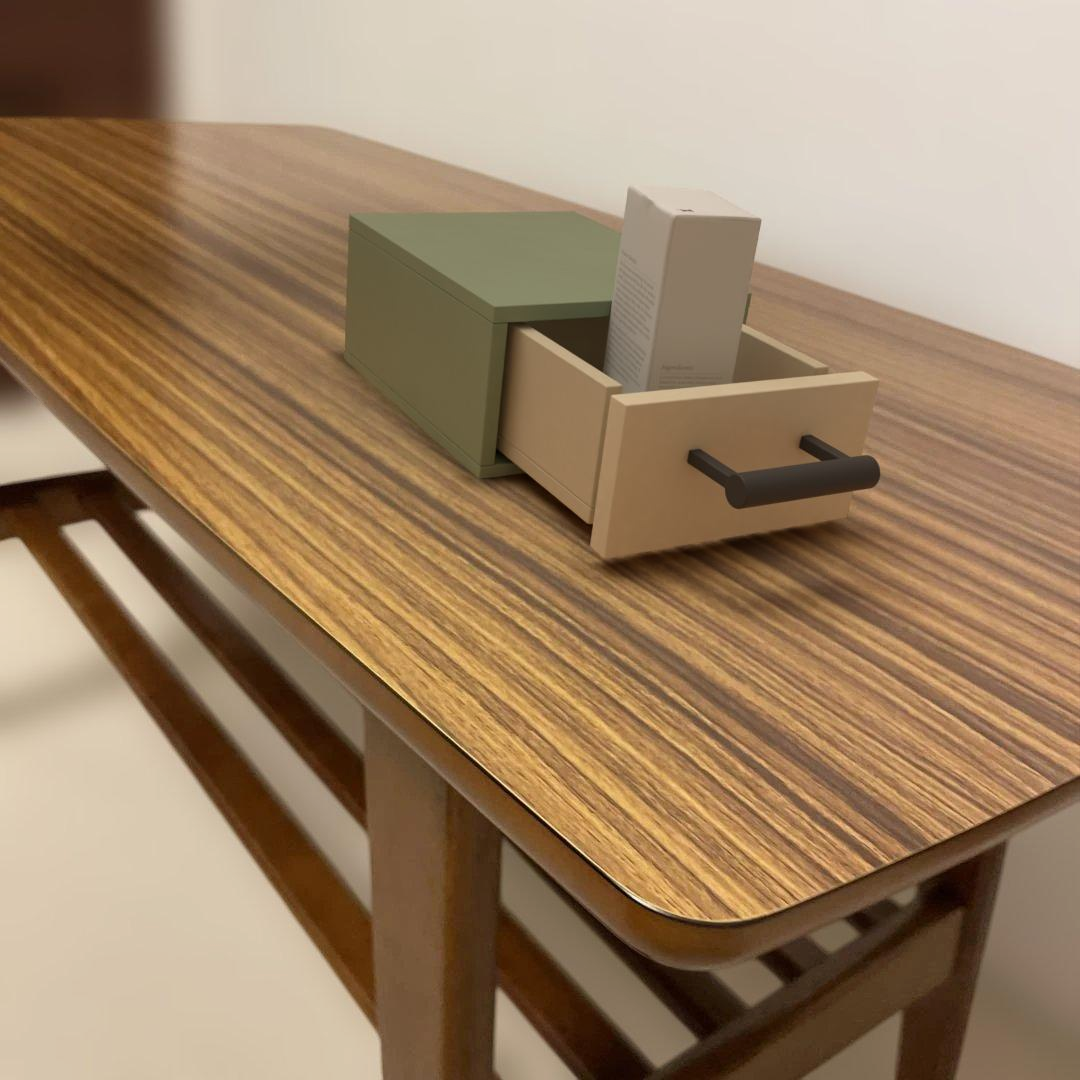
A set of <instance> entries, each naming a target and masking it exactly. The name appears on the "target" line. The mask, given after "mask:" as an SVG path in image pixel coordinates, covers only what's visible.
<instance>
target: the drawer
mask: <svg viewBox="0 0 1080 1080" xmlns="http://www.w3.org/2000/svg"><path fill="white" fill-rule="evenodd" d="M609 321H610V317H593V318H576V319H559V320H542V321H525V322H509V323H508V328H507V338H506V349H505V359H504V369H503V380H502V390H501V401H500V411H499V421H498V432H497V442H496V448H497V449H498V450H499V451H500V452H502V453H503V454H504V455H505V456H506V457H508V458H509V459H510V460H511V461H512V462H514V463H515V464H516V465H517V466H518V467H520V468H521V469H522V470H523V471H525V472H526V473H525V474H526V475H528V476H529V477H530V478H532V479H533V480H534V481H535V482H536V483H537V484H539V485H540V486H541V487H542V488H544V489H545V490H546V491H547V492H548V493H550V494H551V495H552V496H553V497H555V498H556V499H557V500H558V501H559V502H561V503H562V504H563V505H564V506H566V507H567V508H568V509H569V510H570V511H571V512H572V513H574V514H575V515H576V516H578V517H579V518H580V519H581V520H582V521H584V522H585V524H588V525H592V529H591V535H590V536H591V537H590V544H589V547H590V548H591V549H592V550H593V551H594V552H596V553H597V555H599V556H600V557H601V558H602V559H604V560H607V559H614V558H619V557H623V556H624V557H626V556H631V555H636V554H643V553H649V552H653V551H654V552H655V551H660V550H666V549H672V548H677V547H682V546H683V547H684V546H688V545H695V544H701V543H706V542H713V541H717V540H723V539H730V538H737V537H742V536H748V535H753V534H759V533H765V532H772V531H778V530H783V529H789V528H795V527H799V526H800V527H801V526H805V525H813V524H817V523H824V522H831V521H835V520H842V519H847V517H848V514H849V510H850V506H851V502H852V499H853V498H852V497H853V493H854V492H857V491H864V490H870V489H873V488H875V487H876V486H877V485H878V484H879V481H880V480H881V479H880V478H881V467H880V465H879V462H878V460H877V459H875V457H873V456H872V455H869V454H863V453H864V449H865V448H864V447H865V443H866V440H867V436H868V431H869V427H870V424H871V423H870V422H871V419H872V415H873V410H874V407H875V402H876V398H877V394H878V389H879V385H880V378H878V377H876V376H873V375H871V374H869V373H867V372H865V371H863V370H860V371H847V372H838V373H829V369H830V367H829V365H827V364H825V363H822V362H821V361H819V360H817V359H815V358H813V357H810V356H809V355H807V354H805V353H803V352H800V351H799V350H797V349H794V348H792V347H791V346H788V345H786V344H785V343H784V342H781V341H779V340H777V339H774V338H772V337H770V336H768V335H766V334H765V333H763V332H761V331H758V330H756V329H754V328H752V327H750V326H748V325H744V324H742V329H741V335H740V340H739V346H738V352H737V357H736V363H735V368H734V373H733V378H732V384H722V385H712V386H701V387H691V388H681V389H670V390H660V391H649V392H639V393H628V394H622V387H623V386H622V385H621V384H620V383H618V382H617V381H615V380H613V379H612V378H610V377H609V376H607V375H606V374H604V373H602V372H603V365H604V357H605V350H606V343H607V335H608V328H609ZM828 373H829V374H828Z"/></svg>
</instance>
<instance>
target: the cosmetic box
mask: <svg viewBox="0 0 1080 1080" xmlns="http://www.w3.org/2000/svg"><path fill="white" fill-rule="evenodd" d="M761 226H762V218H761V217H760V216H758V215H755V214H753V213H751V212H749V211H747V210H745V209H743V208H741V207H739V206H738V205H736V204H734V203H732V202H731V201H729V200H728V199H726V198H724V197H722V196H721V195H718V194H717V193H714V192H713V191H711V190H710V189H709V190H708V189H699V188H683V187H669V186H667V187H665V186H655V185H654V186H652V185H640V184H631V185H629V186H628V187H627V192H626V200H625V207H624V215H623V222H622V228H621V233H622V234H621V242H620V248H619V256H618V263H617V270H616V278H615V285H614V292H613V299H612V305H611V313H610V321H609V328H608V335H607V343H606V350H605V357H604V365H603V372H602V373H604V374H606V375H607V376H609V377H610V378H612V379H613V380H615V381H617V382H618V383H620V384H621V385H622V386H623V387H622V394H628V393H639V392H649V391H660V390H670V389H681V388H691V387H701V386H712V385H722V384H732V378H733V373H734V368H735V363H736V357H737V352H738V346H739V340H740V335H741V329H742V324H743V319H744V314H745V308H746V302H747V297H748V292H750V291H749V290H750V285H751V279H752V275H753V270H754V263H755V258H756V251H757V248H758V243H759V237H760V236H759V235H760V230H761Z"/></svg>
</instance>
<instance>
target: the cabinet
mask: <svg viewBox="0 0 1080 1080" xmlns="http://www.w3.org/2000/svg"><path fill="white" fill-rule="evenodd" d="M621 234H622V232H620V231H618V230H616V229H613V228H611V227H609V226H608V225H604V224H603V223H600V222H598V221H596V220H594V219H592V218H590V217H587V216H585V215H583V214H581V213H579V212H576V211H573V210H567V211H565V210H564V211H563V210H561V211H557V210H556V211H483V212H482V211H479V212H478V211H476V212H475V211H474V212H473V211H472V212H470V211H469V212H466V211H465V212H389V213H387V212H384V213H383V212H381V213H379V212H378V213H376V212H375V213H373V212H372V213H349V214H348V241H347V242H348V243H347V244H348V245H347V267H346V268H347V271H346V295H345V296H346V299H345V301H346V302H345V323H344V324H345V325H344V356H343V358H344V359H343V360H344V361H345V362H346V363H348V364H349V365H350V366H351V367H352V368H353V369H355V370H356V372H358V373H359V374H360V375H361V376H363V378H365V380H367V381H368V382H369V383H370V384H371V385H372V386H374V388H376V389H377V390H378V391H379V392H380V393H381V394H383V395H384V396H385V397H386V398H387V399H388V400H389V401H390V402H391V403H393V404H394V405H395V406H396V407H397V408H398V409H400V410H401V411H402V412H403V413H404V414H405V415H406V416H407V417H408V418H410V420H412V421H413V422H414V423H415V424H417V425H418V426H419V427H420V428H421V429H422V430H423V431H424V432H425V433H427V435H429V436H430V438H432V439H433V440H434V441H436V443H438V444H439V445H440V446H441V447H442V448H444V450H446V451H447V452H448V453H449V454H450V455H451V456H452V457H454V458H455V459H456V460H457V461H458V462H460V464H461V465H462V466H464V468H466V469H467V470H468V471H469V472H470V473H472V474H473V475H474V476H475V477H476V478H477V479H480V480H483V479H490V478H496V477H505V476H513V475H521V474H522V475H523V474H527V473H526V472H525V471H523V470H522V469H521V468H520V467H518V466H517V465H516V464H515V463H514V462H512V461H511V460H510V459H509V458H508V457H506V456H505V455H504V454H503V453H502V452H500V451H499V450H498V449H497V448H496V442H497V432H498V421H499V411H500V401H501V390H502V380H503V369H504V359H505V349H506V338H507V328H508V323H509V322H525V321H542V320H559V319H576V318H593V317H610V313H611V305H612V299H613V292H614V285H615V278H616V270H617V263H618V256H619V248H620V242H621ZM752 295H753V294H752V292H750V291H748V297H747V302H746V308H745V314H744V319H743V324H744V325H746V324H747V319H748V314H749V309H750V305H751V300H752ZM746 326H747V325H746Z"/></svg>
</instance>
